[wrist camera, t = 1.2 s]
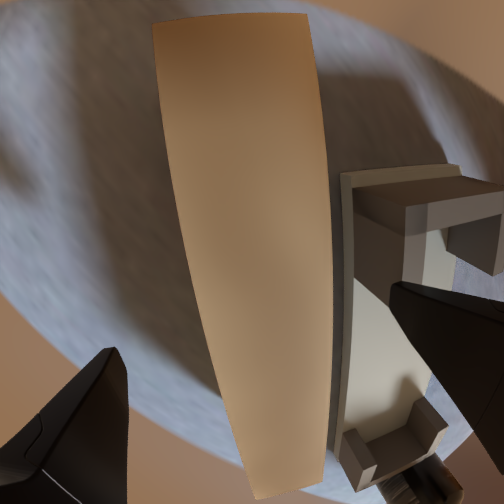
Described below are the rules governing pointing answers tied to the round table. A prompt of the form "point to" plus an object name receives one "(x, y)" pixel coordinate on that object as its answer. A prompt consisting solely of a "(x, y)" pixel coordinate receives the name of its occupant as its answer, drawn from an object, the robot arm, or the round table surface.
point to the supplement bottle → (422, 484)
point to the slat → (255, 227)
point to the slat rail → (377, 303)
